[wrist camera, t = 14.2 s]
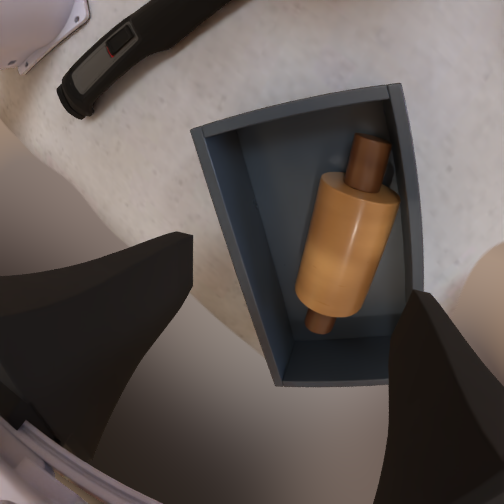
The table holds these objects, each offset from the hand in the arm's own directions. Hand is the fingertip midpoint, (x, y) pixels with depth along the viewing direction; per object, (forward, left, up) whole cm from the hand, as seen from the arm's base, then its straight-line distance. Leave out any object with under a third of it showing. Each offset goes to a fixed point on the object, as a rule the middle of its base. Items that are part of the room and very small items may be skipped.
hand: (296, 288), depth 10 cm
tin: (0, -3, -9) cm, 10 cm away
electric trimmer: (-8, +12, -10) cm, 17 cm away
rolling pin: (0, -2, -9) cm, 9 cm away
